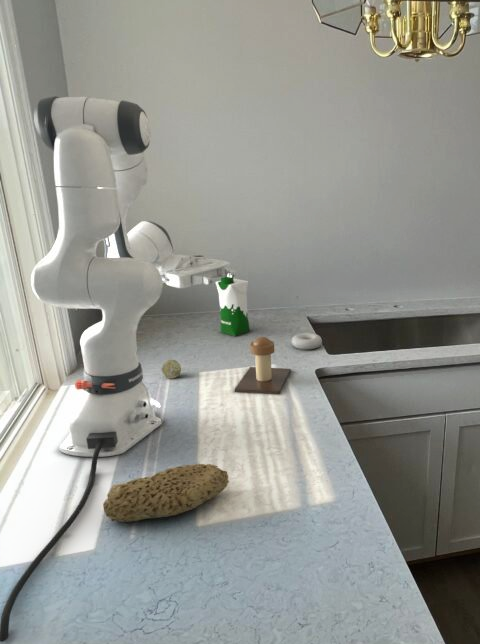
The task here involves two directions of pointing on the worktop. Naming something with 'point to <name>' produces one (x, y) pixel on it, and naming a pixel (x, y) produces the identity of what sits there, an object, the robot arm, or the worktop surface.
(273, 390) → the board
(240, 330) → the milk carton
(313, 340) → the donut
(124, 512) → the sponge
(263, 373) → the mushroom
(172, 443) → the worktop surface
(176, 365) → the olive green ball
